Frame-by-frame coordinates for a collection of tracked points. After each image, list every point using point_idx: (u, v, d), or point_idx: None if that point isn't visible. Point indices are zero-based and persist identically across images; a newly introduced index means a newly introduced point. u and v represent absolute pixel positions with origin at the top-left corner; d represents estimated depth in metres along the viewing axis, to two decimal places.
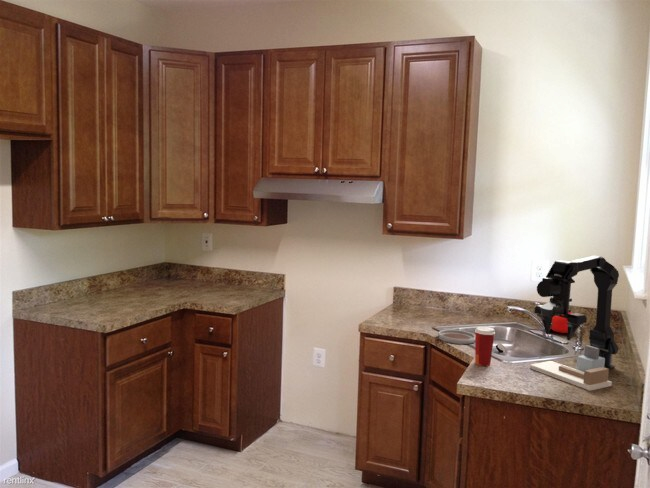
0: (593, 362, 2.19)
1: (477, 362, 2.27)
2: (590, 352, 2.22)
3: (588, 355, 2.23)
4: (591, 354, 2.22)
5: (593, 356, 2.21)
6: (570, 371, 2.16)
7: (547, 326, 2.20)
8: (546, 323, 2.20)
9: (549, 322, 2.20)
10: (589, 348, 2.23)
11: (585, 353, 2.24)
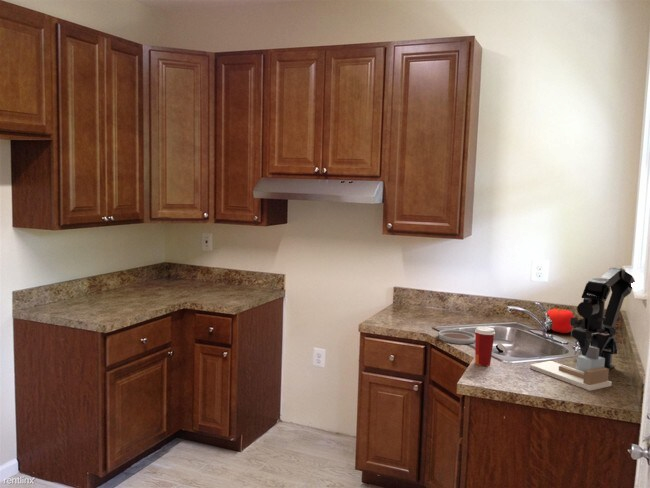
0: (593, 362, 2.19)
1: (477, 362, 2.27)
2: (590, 352, 2.22)
3: (588, 355, 2.23)
4: (591, 354, 2.22)
5: (593, 356, 2.21)
6: (570, 371, 2.16)
7: (599, 345, 2.25)
8: (598, 341, 2.26)
9: (602, 342, 2.24)
10: (589, 348, 2.23)
11: None
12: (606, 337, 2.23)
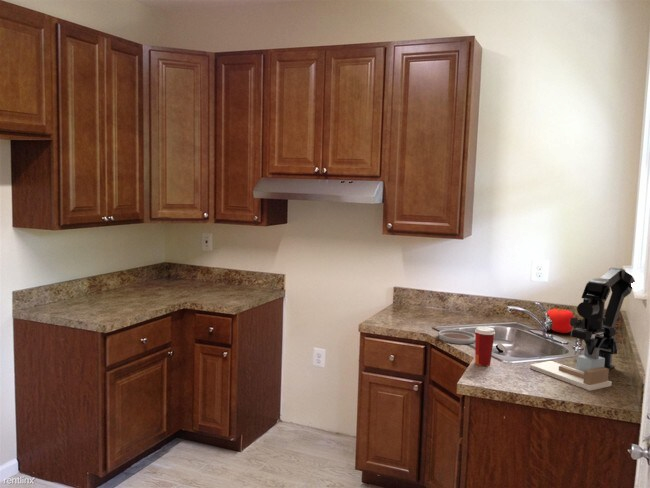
0: (593, 362, 2.19)
1: (477, 362, 2.27)
2: None
3: (588, 355, 2.23)
4: None
5: (593, 356, 2.21)
6: (570, 371, 2.16)
7: None
8: None
9: (596, 343, 2.22)
10: None
11: (585, 353, 2.24)
12: (600, 338, 2.21)
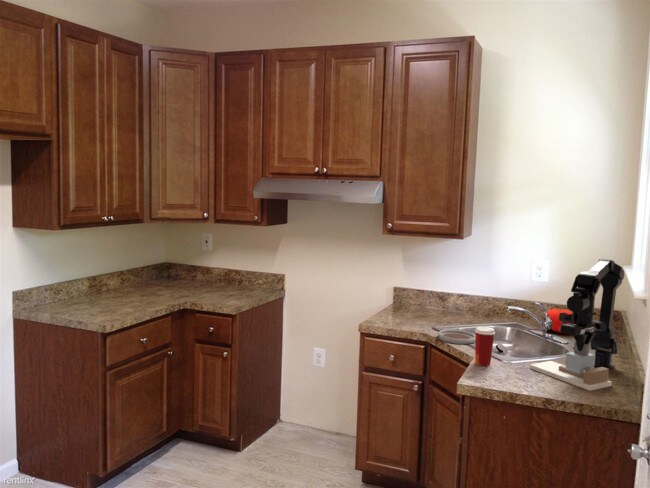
0: (582, 359, 2.09)
1: (477, 362, 2.27)
2: None
3: (578, 352, 2.13)
4: (581, 351, 2.12)
5: (583, 353, 2.12)
6: (570, 371, 2.16)
7: None
8: None
9: (586, 339, 2.12)
10: None
11: (574, 350, 2.14)
12: (590, 334, 2.11)
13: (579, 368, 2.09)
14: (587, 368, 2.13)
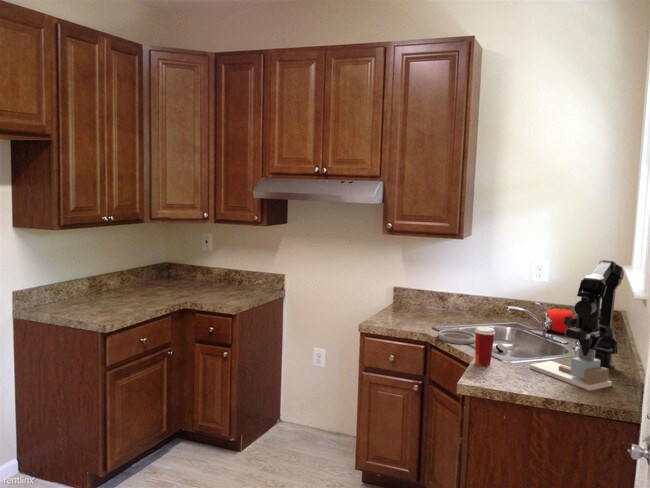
0: (588, 364, 2.07)
1: (477, 362, 2.27)
2: None
3: (583, 357, 2.12)
4: (586, 356, 2.10)
5: (588, 358, 2.10)
6: (570, 371, 2.16)
7: None
8: None
9: (591, 343, 2.11)
10: None
11: (580, 355, 2.13)
12: (595, 338, 2.09)
13: None
14: None
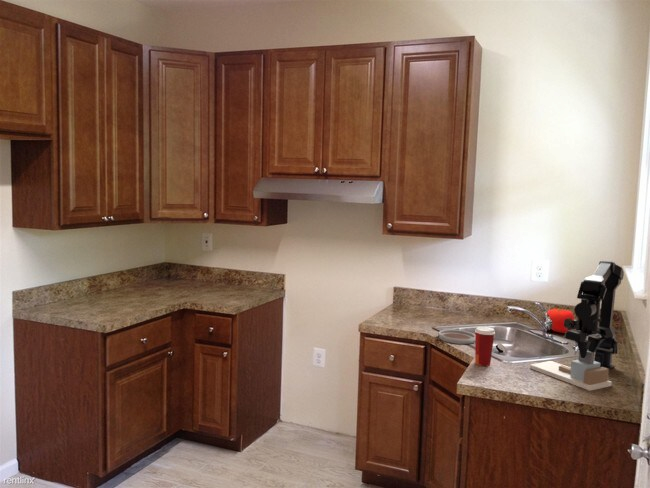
0: (587, 367, 2.07)
1: (477, 362, 2.27)
2: (585, 356, 2.11)
3: (582, 359, 2.12)
4: (586, 359, 2.10)
5: (588, 361, 2.10)
6: None
7: (589, 348, 2.12)
8: (589, 345, 2.13)
9: (593, 345, 2.11)
10: None
11: (579, 357, 2.13)
12: (597, 340, 2.10)
13: None
14: None
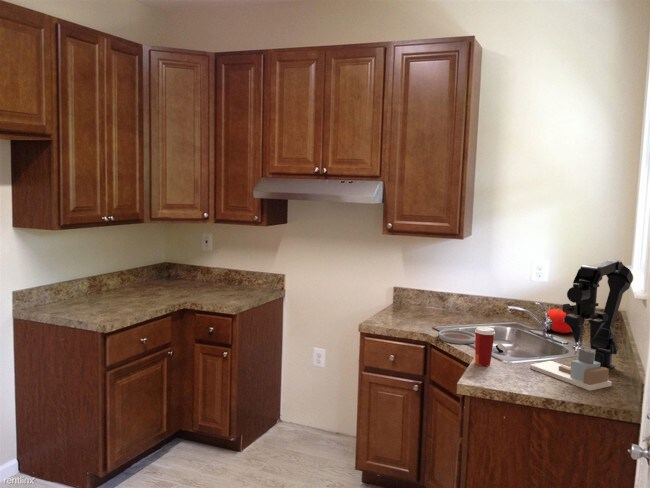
0: (587, 367, 2.07)
1: (477, 362, 2.27)
2: (585, 356, 2.11)
3: (582, 359, 2.12)
4: (586, 359, 2.10)
5: (588, 361, 2.10)
6: None
7: (591, 331, 2.23)
8: (591, 328, 2.23)
9: (595, 328, 2.22)
10: (584, 352, 2.11)
11: (579, 357, 2.13)
12: (599, 323, 2.20)
13: None
14: None
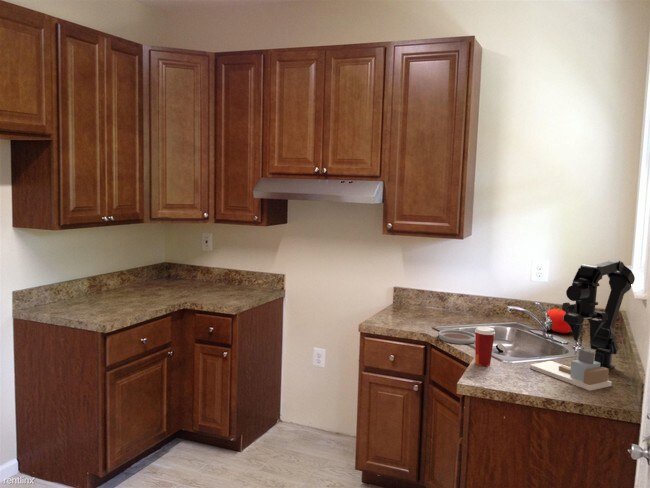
0: (587, 367, 2.07)
1: (477, 362, 2.27)
2: (585, 356, 2.11)
3: (582, 359, 2.12)
4: (586, 359, 2.10)
5: (588, 361, 2.10)
6: None
7: (591, 330, 2.23)
8: (590, 327, 2.24)
9: (594, 327, 2.22)
10: (584, 352, 2.11)
11: (579, 357, 2.13)
12: (598, 322, 2.21)
13: None
14: None
